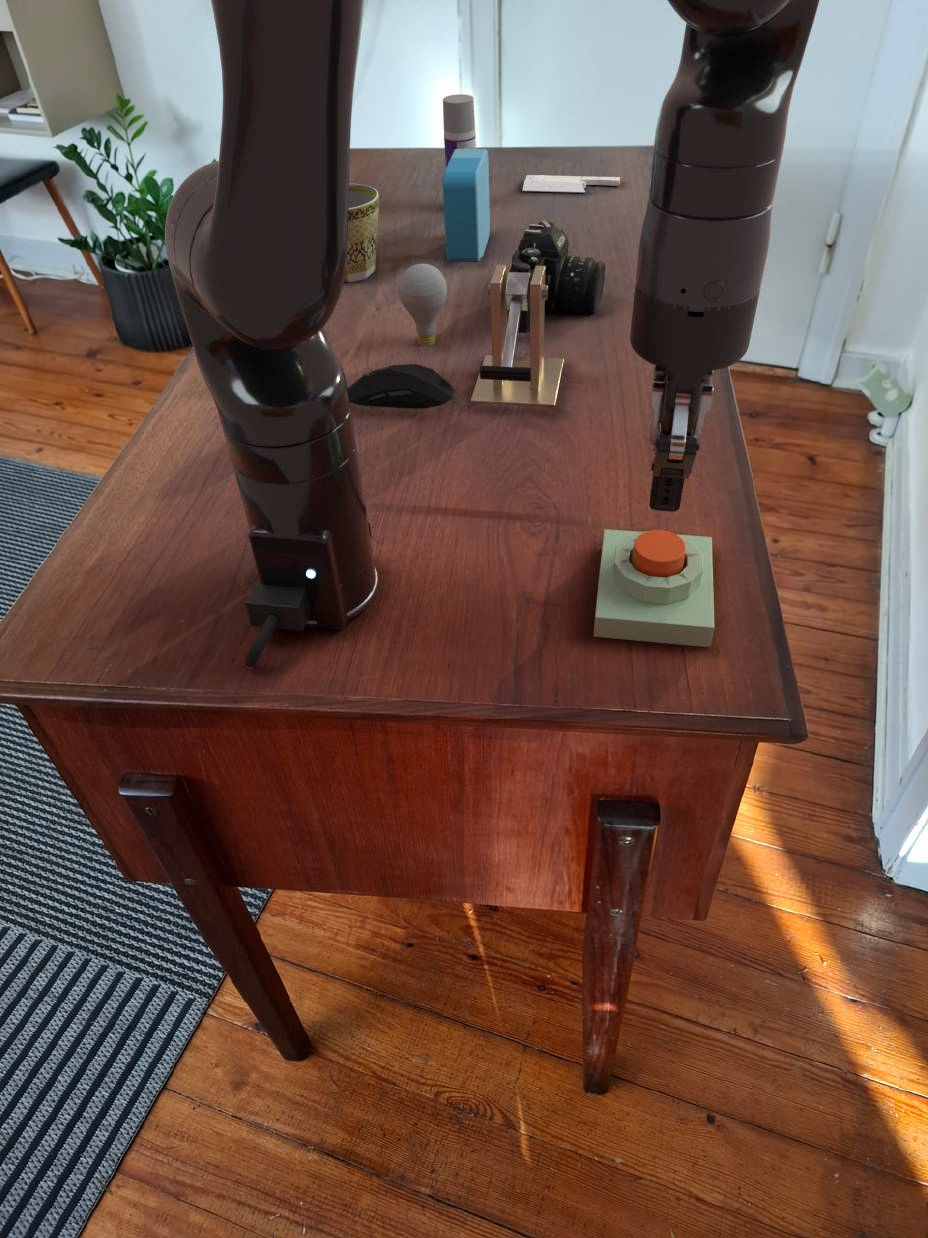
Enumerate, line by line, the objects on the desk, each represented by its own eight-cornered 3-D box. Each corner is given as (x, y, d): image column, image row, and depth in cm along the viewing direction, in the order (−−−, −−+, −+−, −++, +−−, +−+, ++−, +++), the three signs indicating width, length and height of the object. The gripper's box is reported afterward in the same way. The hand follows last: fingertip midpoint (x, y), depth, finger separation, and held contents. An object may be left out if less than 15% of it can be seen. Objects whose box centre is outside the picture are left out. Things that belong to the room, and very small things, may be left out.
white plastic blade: (616, 193, 139) (617, 186, 139) (522, 191, 142) (522, 184, 142) (620, 182, 143) (620, 174, 142) (527, 180, 146) (527, 172, 145)
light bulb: (444, 361, 104) (439, 276, 97) (399, 358, 105) (390, 274, 98) (454, 339, 107) (449, 256, 100) (410, 336, 108) (403, 254, 101)
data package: (459, 234, 131) (455, 145, 123) (490, 234, 130) (488, 145, 122) (446, 268, 122) (441, 175, 114) (479, 268, 122) (476, 175, 113)
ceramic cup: (396, 278, 121) (388, 201, 114) (325, 293, 118) (312, 215, 111) (367, 245, 130) (359, 171, 123) (301, 258, 127) (288, 184, 120)
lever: (531, 387, 88) (530, 372, 86) (481, 385, 89) (478, 370, 86) (544, 289, 92) (543, 272, 90) (496, 287, 93) (494, 271, 91)
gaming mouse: (327, 384, 101) (322, 352, 98) (457, 386, 99) (455, 353, 97) (314, 414, 96) (308, 380, 94) (450, 417, 95) (448, 383, 92)
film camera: (613, 342, 105) (619, 258, 98) (508, 347, 105) (507, 264, 98) (596, 279, 118) (600, 200, 111) (502, 283, 118) (500, 205, 111)
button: (683, 580, 69) (686, 563, 68) (631, 576, 70) (633, 559, 69) (683, 548, 72) (686, 531, 71) (633, 544, 73) (635, 527, 72)
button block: (710, 647, 69) (718, 610, 66) (593, 636, 70) (596, 599, 68) (708, 556, 77) (715, 519, 74) (602, 548, 78) (605, 511, 75)
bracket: (554, 414, 94) (557, 297, 85) (470, 409, 96) (465, 294, 87) (563, 367, 101) (567, 254, 92) (485, 364, 103) (482, 252, 94)
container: (443, 204, 140) (436, 97, 129) (470, 198, 141) (465, 91, 131) (455, 214, 137) (450, 104, 126) (482, 208, 138) (479, 99, 127)
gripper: (642, 232, 60) (620, 452, 72) (629, 320, 50) (606, 556, 62) (758, 237, 59) (715, 460, 71) (766, 327, 49) (715, 567, 61)
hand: (664, 505), depth 66 cm, fingers closed
